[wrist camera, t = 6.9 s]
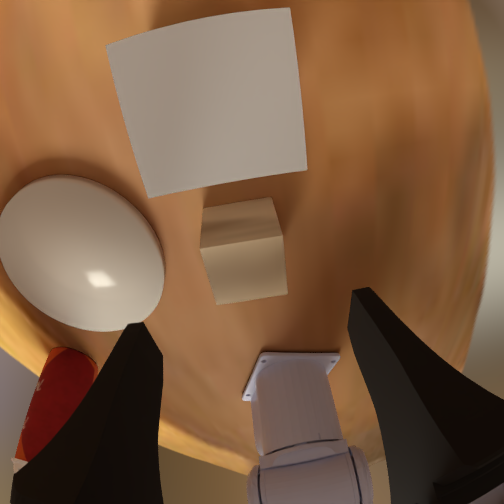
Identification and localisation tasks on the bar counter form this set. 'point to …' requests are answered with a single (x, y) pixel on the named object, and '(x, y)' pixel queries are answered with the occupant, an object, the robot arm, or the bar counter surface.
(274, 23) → the grey open box
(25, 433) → the paper cup
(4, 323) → the bar counter surface
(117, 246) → the ceramic dish
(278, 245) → the maple block
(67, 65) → the bar counter surface
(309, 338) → the bar counter surface
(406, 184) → the bar counter surface
